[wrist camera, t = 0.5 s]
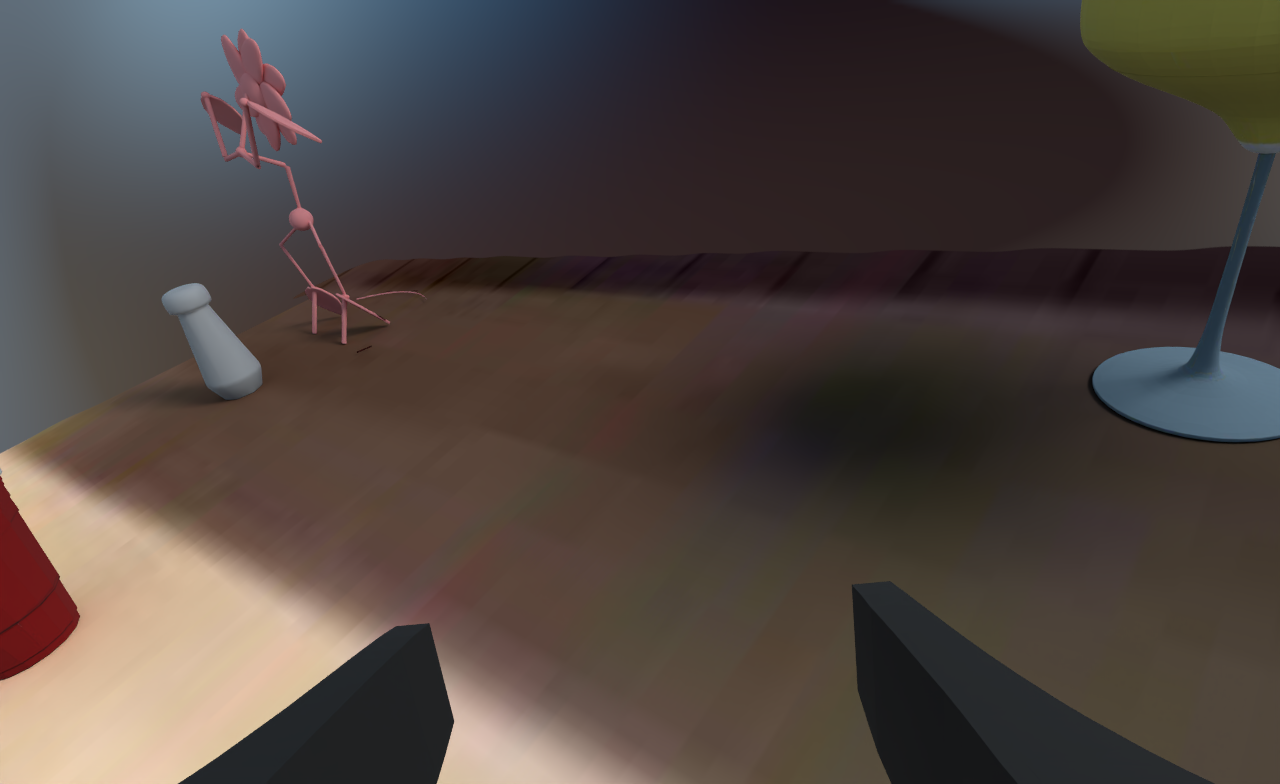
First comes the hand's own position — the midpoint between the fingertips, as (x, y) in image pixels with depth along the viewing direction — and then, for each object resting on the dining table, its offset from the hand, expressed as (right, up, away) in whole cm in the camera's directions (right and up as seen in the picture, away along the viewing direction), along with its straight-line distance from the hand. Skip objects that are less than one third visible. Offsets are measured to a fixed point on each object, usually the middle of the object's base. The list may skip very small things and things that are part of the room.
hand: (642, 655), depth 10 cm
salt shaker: (-46, +4, +62) cm, 78 cm away
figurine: (-37, +15, +75) cm, 85 cm away
